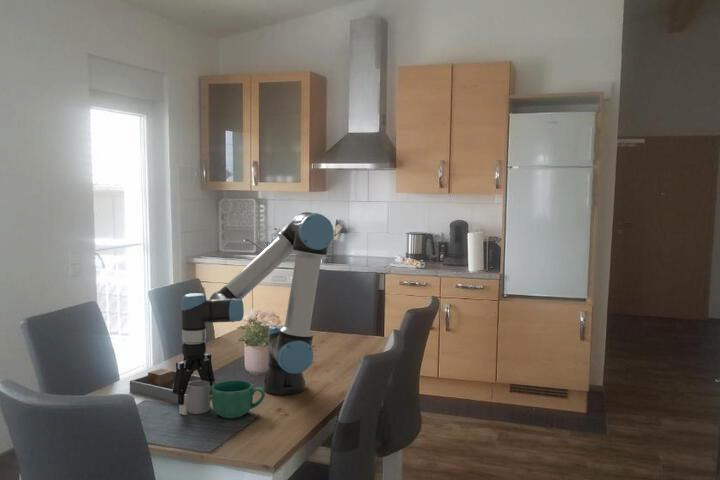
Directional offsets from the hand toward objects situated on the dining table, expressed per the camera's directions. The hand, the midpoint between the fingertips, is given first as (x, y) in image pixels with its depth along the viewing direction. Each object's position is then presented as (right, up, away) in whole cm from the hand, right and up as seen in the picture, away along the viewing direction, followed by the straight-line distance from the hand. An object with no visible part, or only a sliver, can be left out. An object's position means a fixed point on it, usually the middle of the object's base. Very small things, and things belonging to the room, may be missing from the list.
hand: (194, 409), depth 202 cm
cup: (0, 0, 0) cm, 0 cm away
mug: (+15, -1, -4) cm, 16 cm away
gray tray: (-12, +1, +17) cm, 21 cm away
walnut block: (-17, +2, +20) cm, 27 cm away
